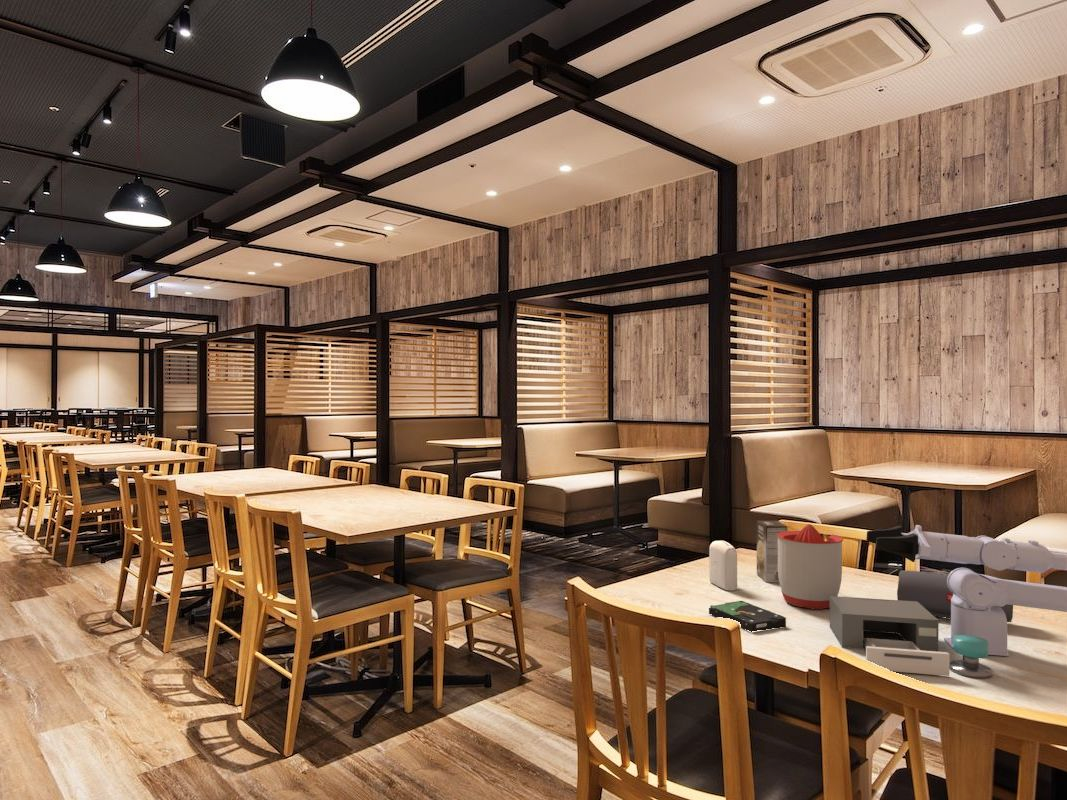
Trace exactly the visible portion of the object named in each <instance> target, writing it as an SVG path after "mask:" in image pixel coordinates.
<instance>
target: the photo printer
mask: <svg viewBox="0 0 1067 800" xmlns="http://www.w3.org/2000/svg"><path fill="white" fill-rule="evenodd" d="M708 549H709V551H708V552H709V566H708V567H709V570H708V571H709V582H710V583H711V584H713V585H715V586H717V587H719V588H721V589H723V590H725V591H736V590H737V589H738V551H737V550H736V548H735V547H734V546H733V545H732V544H731V543H729V542H727V541H725V540H714V541H712V542H711V543H710V545H709V548H708Z"/></svg>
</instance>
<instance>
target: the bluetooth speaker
mask: <svg viewBox="0 0 1067 800" xmlns="http://www.w3.org/2000/svg"><path fill="white" fill-rule="evenodd" d="M948 575H949V574H946V573H939V572H938V573H936V572H929V571H917V570H900V571H899V573H898V581H897V582H898V583H897V590H896V593H897V594H896V596H897V597H896V598H897V599H896V600H901V601H917V602H918V603H920V604H921V605H922V606H923V607H924V608H925V609H926V610H928V611H929V612H930V613H931V614H932V615H933V616H934V617H937V616H940V617H939V618H942V617H946V618H945V619H948V618H951V599H952V597H953V593H952V592H951V591H950V590H949V588H948V585H947V578H948ZM994 607H999V606H994ZM1000 608H1002V609H1003V611H1004V612H1005V615H1006V618H1007V623H1012V620H1013V619H1014V617H1013V616H1014V615H1013V614H1014V605H1008V604H1006V605H1005V606H1003V607H1000Z"/></svg>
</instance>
